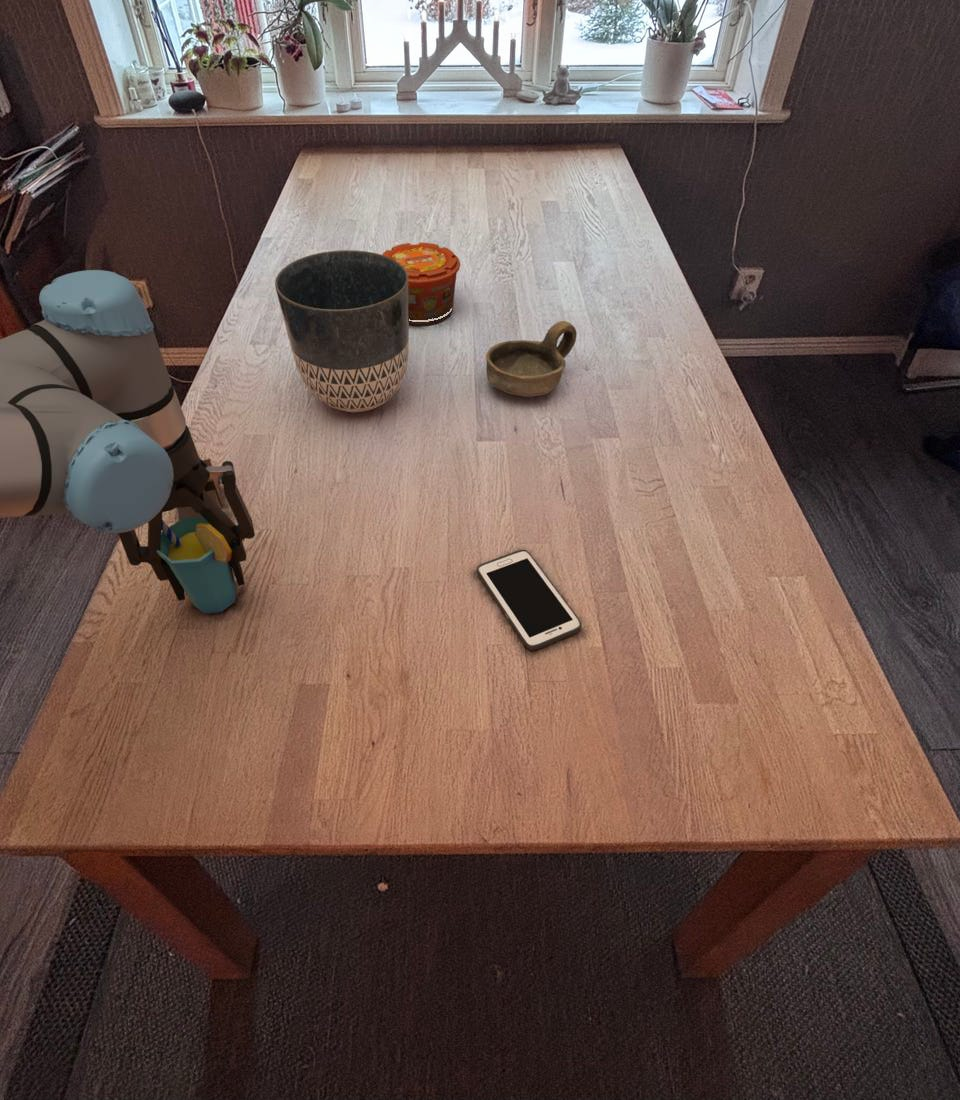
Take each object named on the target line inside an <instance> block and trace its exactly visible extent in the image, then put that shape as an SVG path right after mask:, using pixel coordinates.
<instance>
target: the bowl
mask: <svg viewBox="0 0 960 1100" xmlns="http://www.w3.org/2000/svg"><path fill="white" fill-rule="evenodd" d="M561 336H562V337H561ZM560 337H561V340H560V341H558V340H559V339H560ZM576 341H577V329H576V327H575V326H574V325H573V324H572V323H571V322H569V321H566V320H561V321H557V322H556V323H554V324H553V325H551V326H550V327H549V329H548V330H547V332H546V334H545V336H544V338H543V340H541V341H537V340H527V339H526V340H523V339H521V340H517V339H516V340H506V341H503V342H498V343H496V344H494V345H493V346H490V348H489V350H488V351H487V352H486V354H485V360H486V366H485V367H486V368H485V371H486V377H487V380H488V382H489V384H490V385H491V386H492V387H494V388H496V389H498V390H500V391H502V392H505V393H507V394H510V395H514V396H520V397H538V396H544V395H546V394H549V393H550V392H552V391H554V389H556V388H557V386H558V385H559V383H560V381H561V378H562V376H563V370H564V368H565V366H566V359H565V358H566V357H567V356H568V355H569V354H570V352H571V351H572V349H573V348H574V346H575V343H576ZM558 342H559V343H558Z"/></svg>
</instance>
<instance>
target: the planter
mask: <svg viewBox="0 0 960 1100" xmlns="http://www.w3.org/2000/svg"><path fill="white" fill-rule="evenodd" d="M274 289H275V292H276V295H277V300H278V303H279V307H280V311H281V315H282V319H283V322H284V327H285V330H286V334H287V338H288V342H289V345H290V348H291V352H292V356H293V359H294V363H295V366H296V369H297V371H298V373H299V375H300V377H301V380H302V381H303V383H304V385H305V387H306V388H307V389H308V390H309V392H310V393H311V394H312V395H313V396H314V397H315V398H316V399H318V401H320V402H322V403H323V404H324V405H326V406H328V407H330V408H333V409H335V410H338V411H343V412H347V413H363V412H368V411H371V410H374V409H376V408H379V407H381V406H382V405H383V404H385V403H386V402H388V401H389V400H391V398H393V396H394V395H395V394H396V393H397V392H398V390H399V389H400V387H401V385H402V384H403V381H404V379H405V376H406V372H407V368H408V363H409V353H410V352H409V351H410V349H409V347H410V344H409V343H410V342H409V341H410V325H409V280H408V273H407V271H406V269H405V268H404V267H403V266H402V265H401V264H400V263H398V262H397V261H395V260H393V259H391V258H389V257H387V256H384V255H382V254H380V253H376V252H372V251H365V250H356V249H355V250H353V249H352V250H351V249H344V250H343V249H340V250H329V251H323V252H318V253H314V254H310V255H307V256H303V257H301V258H298V259H296V260H294V261H292V262H290V263H289V264H287V265H285V266H284V267H283V268H282V269H281V270H280V271H279V272H278V274H277V275H276V277H275V280H274Z"/></svg>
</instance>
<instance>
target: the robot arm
mask: <svg viewBox="0 0 960 1100" xmlns="http://www.w3.org/2000/svg"><path fill="white" fill-rule="evenodd" d="M38 300H39V301H38V302H39V305H40V307H41V315H42V316H43V318H44V319H42V320H41V321H39V322H36V323H34V324H32V325H30V327H28V328H25V329H24V330H21V331H18V332H16V333H13V334H10V335H8V336H5V337H3V338H1V339H0V519H5V518H16V517H20V518H21V517H38V516H51V515H61V514H67V515H70V516H71V517H72V518H73V520H74V521H76V522H78V523H79V524H82V525H85V526H86V525H87V526H89V527H91V528H92V529H94V530H96V531H99V532H103V533H107V534H108V533H109V534H118V537H119V539H120V542H121V544H122V548H123V549H124V552H125V555H126V557H127V560H128V562H129V564H130V565H131V566H134V567H135V566H139V565H141V564H142V563H147V564H148V565H150V566H151V569H152V570H153V572H154V574H155V576H156V578H157V580H159V581H160V582H163V581H168V582H169V584H170V586H171V588H172V590H173V591H174V592H173V593H174V595H175V596H176V598H177V600H178V601H177V602H181V601H185V600H186V592H185V591H184V589H183V587H182V586H181V584H180V583H179V581H178V580H177V578H176V577H175V575H174V573H173V571H172V570H171V568H170V566H169V564H168V563H167V562H166V561H165V560H164V559H162V558H161V557H160V556H159V554H158V553H157V552H156V551H157V550H159V551H161V532H162V530H161V528H162V520H163V513H166V512H170V511H173V510H175V509H177V508H181V507H189V506H190V507H191V508H192V509H193V510H194V511H195V512H196V513H200V514H201V515H202V516H203V517H204V518H205V519H206V520H207V521H208V522H209V523H210V525H211V526H212V527H214V528H215V529H216V530H217V531H218V532H219V533H220V534H222V535H223V536H224V538H225V540H226V542H227V543H228V545H229V547H230V549H231V550H232V553H231V560H230V561H229V562H230V564H231V567H232V571H233V576H234V579H235V581H236V583H237V585H238V587H241V586H244V585H246V584H245V577H244V572H243V568H242V565H241V563H242V562H246V561H247V554H246V548H245V546H244V543H243V542H244V541H245V539H247V540H251V539H254V537H256V533H255V528H254V523H253V519H252V517H251V515H250V512H249V510H248V508H247V506H246V503H245V501H244V499H243V497H242V494H241V493H240V490H239V488H238V486H237V478H236V472H235V468H234V467H235V466H234V463H233V462H232V461H230V460H225V461H223V462H222V463H221V465H220V466H219V465H217V466H215V465H212V466H207V464H206V463H205V462H203V461H202V460H203V459H201V457H200V456H199V453H198V451H197V447H196V444H195V442H194V439H193V436H192V434H191V431H190V428H189V426H188V425H187V421H186V417H185V414H184V412H183V409H182V407H181V404H180V401H179V398H178V395H177V393H176V390H175V387H174V385H173V382H172V380H171V377H170V374H169V371H168V369H167V366H166V363H165V360H164V356H163V355H162V351H161V349H160V346H159V343H158V340H157V337H156V334H155V331H154V329H155V327H154V323H153V321H152V320H151V318H150V316H149V313H148V312H147V309H146V307H145V304H144V302H143V300H142V298H141V296H140V294H139V292H138V290H137V288H136V287H135V285H134V283H133V282H132V281H131V280H129V279H128V278H126V277H125V276H122V275H120V274H119V273H117V272H115V271H109V270H102V269H88V270H87V269H86V270H79V271H73V272H70V273H66V274H63V275H61V276H58V277H56V278H54V279H53V280H52V281H51V283H50V284H47V285H45V286H44V287H43V288H42V289H41V291H40V293H39V297H38ZM209 479H213V480H214V481H215V483H216V485H217V486H219V489H223V494H224V496H225V499H226V501H227V504H228V505H229V507H230V509H231V511H232V514H233V515H234V518H235V520H236V522H237V524H236V523H235V522H234V521H233V520H232V519H231V518H230V517H229V516H228V515H227V514H226V513H225V512H224V510H223V509H222V508H221V509H222V510H221V509H220V508H219V507H218V505H217V504H216V503H215V502H214V501H213V500H212V499H211V498H210V497H209V496H208V495H207V493H206V491H205V489H204V487H205V485H206V483H207V481H208V480H209ZM146 524H147V543H146V545H141V544H140V541H139V538H138V535H137V531H136V530H137V529H139V528H141V527H142V526H144V525H146Z"/></svg>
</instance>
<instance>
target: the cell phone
mask: <svg viewBox="0 0 960 1100" xmlns="http://www.w3.org/2000/svg"><path fill="white" fill-rule="evenodd" d="M476 573H477V575H478V577H479V578H480V580H481V582H482V583H483V585H484V586H485V588H486V589H487V591H488V592H489V594H490V595H491V596H492V598H493V600H494V601H495V603H496V604H497V606H498V607H499V609H500V610H501V612H502V614H503V615H504V616H506V618H507V620H508V622H509V624H510V625H511V627H512V629H513V630H514V631H515V633H516V635H517V636H518V638H519V640H520V641H521V642H522V644H523V645H524V646H525V648H527V649H528V650H529V651H536V650H539V649H542V648H545V647H546V646H549V645H551V644H553V643H556V642H558V641H561V640H563V639H565V638H568V637H571V636H572V635H575V634H577V633H579V632H580V631H581V629H582V622H581V620H580V618H579V617H578V616H577V614H576V613H575V612H574V610H573V609H572V608H571V606H570V605H569V603H568V602H567V601H566V600H565V598H564V597H563V596H562V594H561V592H559V590H558V589H557V588H556V586H555V585H554V584H553V582H552V580H551V579H550V578H549V577H548V575H547V574H546V573H545V571H544V570H543V568H541V566H540V565H539V563H538V562H537V560H536V559H535V558H534V557H533V556H532V554H531V553H530V552H529V551H528V550H527V549H519V550H516V551H513V552H510V553H508V554H505V555H502V556H499V557H497V558H494V559H491V560H488V561H485V562H483V563H481V564H479V565H478V566H477V567H476Z"/></svg>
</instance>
